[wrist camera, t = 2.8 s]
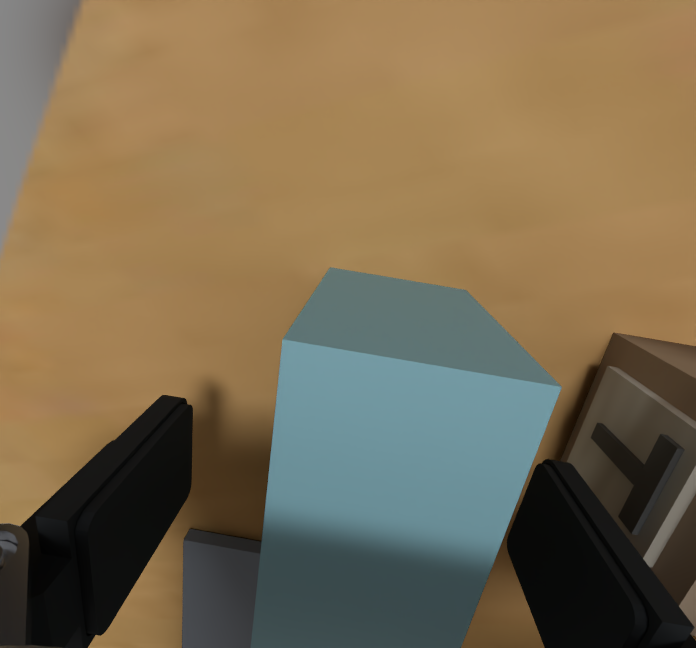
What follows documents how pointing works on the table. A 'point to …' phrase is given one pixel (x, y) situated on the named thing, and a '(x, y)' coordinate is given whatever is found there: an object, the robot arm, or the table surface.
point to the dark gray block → (218, 590)
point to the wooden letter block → (645, 454)
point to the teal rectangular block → (392, 465)
